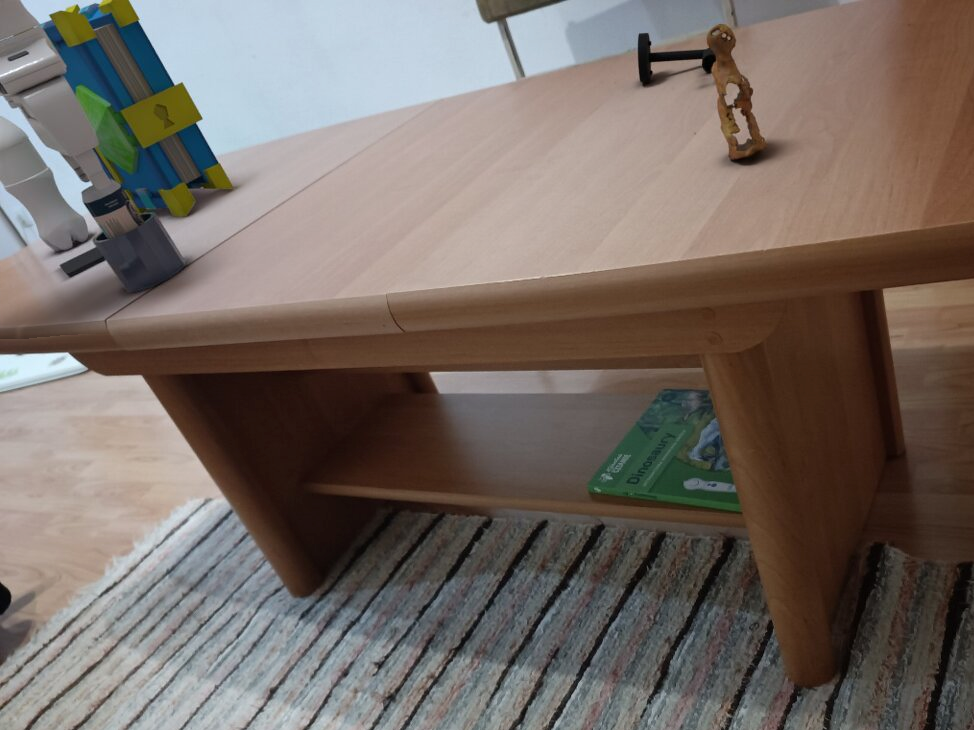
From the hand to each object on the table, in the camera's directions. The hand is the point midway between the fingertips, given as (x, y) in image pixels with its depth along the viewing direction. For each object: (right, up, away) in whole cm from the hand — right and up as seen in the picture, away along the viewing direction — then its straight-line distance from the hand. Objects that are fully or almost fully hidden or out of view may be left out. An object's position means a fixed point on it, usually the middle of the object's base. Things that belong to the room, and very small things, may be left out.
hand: (97, 183), depth 105 cm
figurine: (+75, -4, -21) cm, 78 cm away
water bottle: (-25, +1, +37) cm, 45 cm away
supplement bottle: (+4, -10, +7) cm, 12 cm away
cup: (+4, -10, +7) cm, 13 cm away
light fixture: (+71, +15, +7) cm, 73 cm away
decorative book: (-8, +8, +38) cm, 39 cm away
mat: (-15, -4, +25) cm, 29 cm away
